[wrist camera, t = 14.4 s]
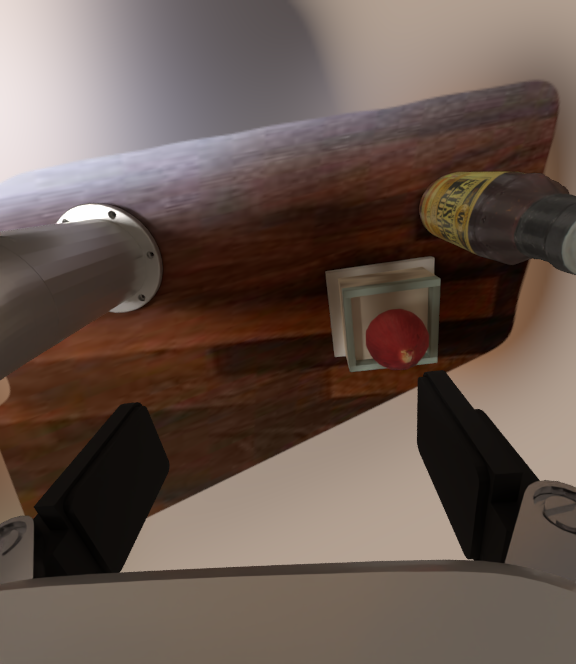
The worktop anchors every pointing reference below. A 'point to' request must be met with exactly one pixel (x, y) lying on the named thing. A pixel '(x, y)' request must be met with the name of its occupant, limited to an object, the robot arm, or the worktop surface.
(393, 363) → the onion
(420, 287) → the open box
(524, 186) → the sauce bottle
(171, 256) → the worktop surface
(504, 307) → the worktop surface
